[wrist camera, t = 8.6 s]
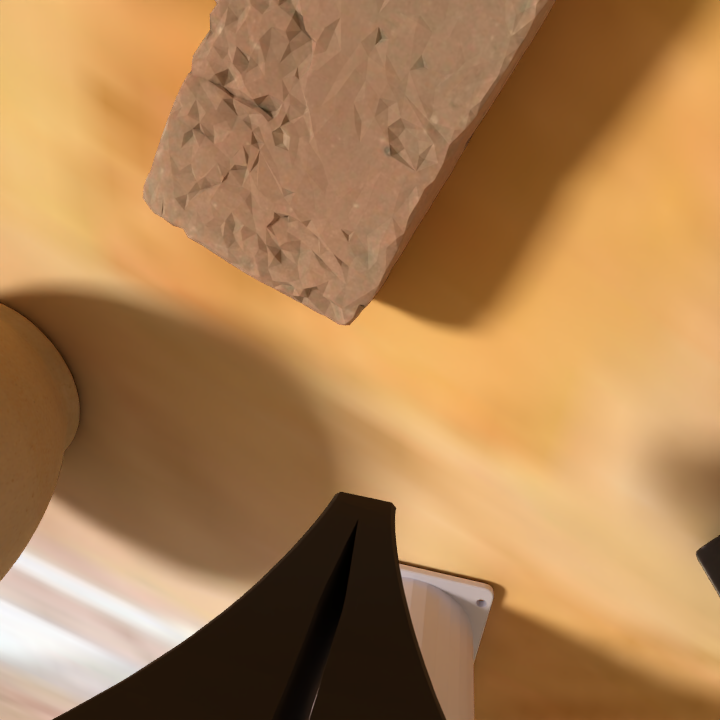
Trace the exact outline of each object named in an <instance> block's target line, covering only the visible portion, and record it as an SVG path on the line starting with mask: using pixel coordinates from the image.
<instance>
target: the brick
mask: <svg viewBox="0 0 720 720" xmlns="http://www.w3.org/2000/svg"><path fill="white" fill-rule="evenodd" d="M555 1H556V0H215V2H216V3H217V5H216V6H215V8H214V9H213V11H212V12H211V14H210V31H209V32H208V34H207V35H206V37H205V38H204V40H203V41H202V43H201V44H200V46H199V47H198V49H197V50H196V52H195V53H194V55H193V60H192V71H191V72H190V73H189V74H188V75H187V77H186V79H185V81H184V82H183V84H182V86H181V88H180V90H179V93H178V95H177V97H176V100H175V102H174V105H173V107H172V110H171V112H170V115H169V117H168V120H167V123H166V126H165V129H164V132H163V135H162V137H161V140H160V143H159V146H158V149H157V152H156V155H155V158H154V162H153V165H152V168H151V171H150V173H149V174H148V176H147V179H146V182H145V185H144V191H143V199H144V200H145V202H146V203H147V205H148V206H149V208H150V209H151V210H152V211H153V212H154V213H155V214H157V215H158V216H160V217H162V218H164V219H165V220H166V221H168V222H169V223H170V224H172V225H173V226H176V227H179V228H182V229H184V231H185V233H186V235H187V236H188V238H190V239H192V240H193V241H195V242H197V243H199V244H201V245H202V246H204V247H206V248H207V249H209V250H210V251H212V252H213V253H215V254H216V255H218V256H219V257H221V258H222V259H224V260H225V261H227V262H228V263H230V264H232V265H233V266H235V267H236V268H238V269H240V270H241V271H243V272H245V273H246V274H248V275H249V276H251V277H253V278H255V279H257V280H258V281H260V282H262V283H264V284H266V285H268V286H270V287H272V288H274V289H276V290H278V291H280V292H281V293H283V294H285V295H287V296H289V297H291V298H292V299H294V300H296V301H298V302H300V303H302V304H304V305H305V306H307V307H309V308H310V309H312V310H314V311H316V312H317V313H319V314H322V315H325V316H326V317H328V318H329V319H331V320H333V321H334V322H336V323H337V324H340V325H350V324H351V323H352V322H353V321H354V320H355V319H356V318H357V316H358V315H359V314H360V313H361V311H362V310H363V309H364V308H365V307H366V306H367V305H368V304H369V303H370V302H371V301H372V299H373V298H374V296H375V295H376V294H377V293H378V291H379V290H380V288H381V287H382V286H383V284H384V282H385V281H386V279H387V278H388V275H389V273H390V271H391V269H392V268H393V266H394V265H395V263H396V262H397V261H398V259H399V257H400V256H401V254H402V252H403V251H404V249H405V247H406V246H407V244H408V242H409V240H410V238H411V237H412V235H413V234H414V232H415V230H416V229H417V227H418V225H419V224H420V222H421V221H422V219H423V217H424V216H425V214H426V213H427V211H428V210H429V208H430V207H431V205H432V203H433V201H434V200H435V198H436V196H437V195H438V193H439V191H440V190H441V188H442V186H443V185H444V183H445V182H446V180H447V179H448V177H449V176H450V174H451V173H452V171H453V169H454V167H455V165H456V163H457V161H458V160H459V158H460V156H461V154H462V153H463V151H464V150H465V148H466V146H467V145H468V143H469V141H470V139H471V137H472V135H473V133H474V131H475V130H476V128H477V127H478V125H479V124H480V122H481V121H482V119H483V118H484V117H485V115H486V113H487V112H488V110H489V109H490V107H491V106H492V104H493V102H494V101H495V99H496V98H497V96H498V95H499V93H500V91H501V90H502V88H503V87H504V85H505V83H506V82H507V80H508V79H509V77H510V75H511V74H512V72H513V71H514V69H515V67H516V66H517V64H518V62H519V61H520V59H521V57H522V56H523V54H524V52H525V51H526V49H527V48H528V47H529V45H530V44H531V42H532V41H533V39H534V37H535V35H536V34H537V32H538V30H539V29H540V27H541V25H542V24H543V22H544V20H545V18H546V17H547V15H548V13H549V12H550V10H551V8H552V6H553V5H554V3H555Z"/></svg>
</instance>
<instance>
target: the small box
mask: <svg viewBox="0 0 720 720" xmlns="http://www.w3.org/2000/svg"><path fill="white" fill-rule="evenodd" d="M696 556H697V559H698V561H699V563H700V564H701V566H702V568H703V569H704V571H705V573H706V575H707V576H708V578H709V580H710V581H711V583H712V585H713V586H714V588H715V590H716V591H717V593H718V595H719V597H720V535H719V536H718V537H716V538H715V539H713V540H712V541H710V542H708V543H707V544H706V545H704V546H703V547H701V548H700V549H699V550H697V552H696Z"/></svg>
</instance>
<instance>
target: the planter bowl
mask: <svg viewBox="0 0 720 720" xmlns="http://www.w3.org/2000/svg"><path fill="white" fill-rule="evenodd" d="M79 417H80V406H79V398H78V393H77V389H76V386H75V383H74V380H73V377H72V375H71V373H70V371H69V369H68V367H67V365H66V363H65V362H64V360H63V358H62V357H61V355H60V354H59V352H58V351H57V349H56V348H55V346H54V345H53V344H52V343H51V342H50V341H49V339H48V338H47V337H46V336H45V335H44V334H43V333H42V332H41V331H40V330H39V329H38V328H37V327H36V326H35V325H34V324H33V323H31V322H30V321H29V320H28V319H26V318H25V317H24V316H22V315H21V314H19V313H18V312H16V311H15V310H13V309H11V308H9V307H7V306H5V305H3V304H1V303H0V581H1V580H2V579H3V577H4V576H5V575H6V574H7V572H8V571H9V570H10V568H11V567H12V566H13V564H14V563H15V562H16V561H17V559H18V558H19V556H20V555H21V553H22V552H23V550H24V549H25V547H26V546H27V544H28V542H29V541H30V539H31V537H32V536H33V534H34V532H35V530H36V529H37V527H38V525H39V523H40V521H41V519H42V517H43V515H44V513H45V511H46V509H47V506H48V504H49V502H50V499H51V497H52V495H53V492H54V490H55V486H56V483H57V480H58V477H59V473H60V469H61V465H62V460H63V454H64V451H65V450H66V449H67V447H68V446H69V445H70V444H71V442H72V441H73V439H74V437H75V434H76V432H77V428H78V425H79Z"/></svg>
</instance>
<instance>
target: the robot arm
mask: <svg viewBox="0 0 720 720" xmlns="http://www.w3.org/2000/svg"><path fill="white" fill-rule="evenodd" d="M395 511H396V507H395V506H394V505H393V503H391V502H386V501H382V500H377V499H372V498H368V497H363V496H358V495H354V494H349V493H344V492H339V493H337V494H336V495H335V496H334V497H333V499H332V501H331V502H330V503H329V505H328V506H327V507H326V509H325V510H324V511H323V513H322V514H321V515H320V517H319V518H318V519H317V520H316V521H315V523H314V524H313V525H312V526H311V528H310V529H309V530H308V531H307V532H306V533H305V534H304V535H303V537H302V538H301V539H300V540H299V541H298V542H297V543H296V544H295V545H294V547H293V548H292V549H291V550H290V551H289V552H288V553H287V554H286V555H285V556H284V557H283V558H282V559H281V560H280V561H279V562H278V563H277V564H276V565H275V566H274V567H273V568H272V569H271V570H270V571H269V572H268V573H267V574H266V575H265V576H264V577H263V578H262V579H261V580H260V581H258V582H257V583H256V584H255V585H254V586H253V587H252V588H251V589H250V590H248V591H247V592H246V593H245V594H244V595H243V596H242V597H240V598H239V599H238V600H237V601H236V602H234V603H233V604H232V605H231V606H230V607H228V608H227V609H226V610H225V611H223V612H222V613H221V614H220V615H218V616H217V617H216V618H214V619H213V620H212V621H210V622H209V623H208V624H206V625H205V626H204V627H202V628H201V629H200V630H198V631H197V632H196V633H195V634H193V635H192V636H190V637H189V638H187V639H186V640H185V641H183V642H182V643H180V644H179V645H178V646H176V647H175V648H173V649H171V650H170V651H168V652H167V653H165V654H164V655H162V656H161V657H159V658H158V659H156V660H154V661H153V662H151V663H150V664H148V665H147V666H145V667H144V668H142V669H140V670H139V671H137V672H136V673H134V674H133V675H131V676H129V677H128V678H126V679H124V680H123V681H121V682H119V683H118V684H116V685H114V686H112V687H111V688H109V689H107V690H105V691H103V692H102V693H100V694H98V695H96V696H94V697H93V698H91V699H89V700H87V701H85V702H84V703H82V704H80V705H78V706H76V707H75V708H73V709H71V710H69V711H67V712H66V713H64V714H62V715H60V716H58V717H56V718H54V719H53V720H474V661H475V658H476V655H477V652H478V648H479V645H480V642H481V638H482V635H483V632H484V628H485V625H486V622H487V618H488V615H489V612H490V608H491V605H492V602H493V598H494V592H493V589H492V587H491V586H490V585H488V584H485V583H481V582H477V581H472V580H468V579H464V578H459V577H455V576H451V575H446V574H442V573H438V572H433V571H429V570H425V569H420V568H416V567H412V566H407V565H403V564H399V560H398V553H397V545H396V535H395ZM480 600H484V601H480Z"/></svg>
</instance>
